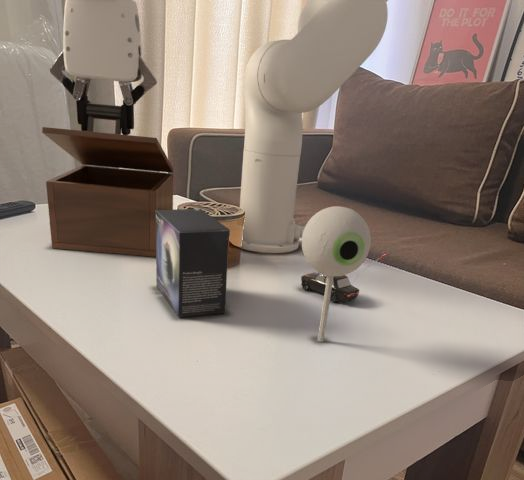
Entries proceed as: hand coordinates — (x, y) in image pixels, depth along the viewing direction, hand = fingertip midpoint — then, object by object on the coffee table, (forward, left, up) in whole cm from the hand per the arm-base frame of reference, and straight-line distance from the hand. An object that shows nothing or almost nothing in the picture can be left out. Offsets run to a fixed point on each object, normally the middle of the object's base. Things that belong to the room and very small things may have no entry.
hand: (106, 131), depth 77 cm
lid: (0, -5, -4) cm, 6 cm away
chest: (0, -5, -17) cm, 18 cm away
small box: (-15, +21, -17) cm, 31 cm away
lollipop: (-31, +30, -17) cm, 47 cm away
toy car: (-35, +16, -17) cm, 42 cm away
